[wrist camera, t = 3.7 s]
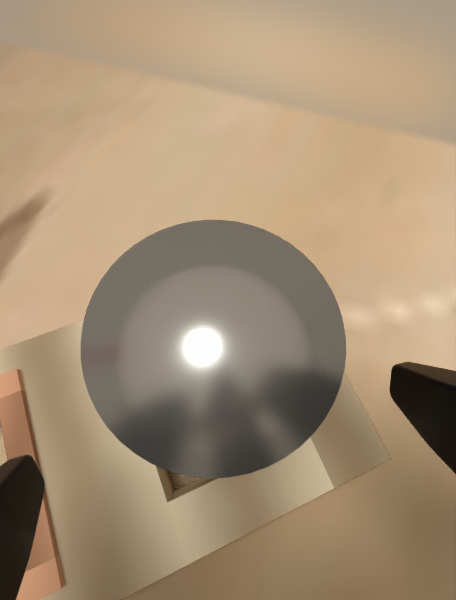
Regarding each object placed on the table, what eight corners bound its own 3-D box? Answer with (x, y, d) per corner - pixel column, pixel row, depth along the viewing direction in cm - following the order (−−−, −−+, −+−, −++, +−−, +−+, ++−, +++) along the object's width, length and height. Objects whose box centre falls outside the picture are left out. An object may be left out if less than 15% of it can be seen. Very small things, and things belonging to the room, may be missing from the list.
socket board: (270, 274, 21) (280, 247, 18) (362, 454, 17) (394, 458, 14) (-175, 438, 16) (-263, 440, 13) (-172, 726, 13) (-291, 818, 10)
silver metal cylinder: (269, 385, 18) (385, 294, 6) (225, 465, 17) (265, 546, 5) (199, 341, 19) (182, 183, 7) (150, 414, 18) (20, 372, 5)
